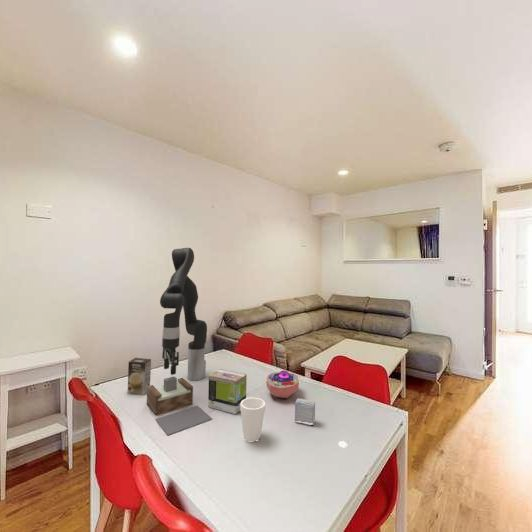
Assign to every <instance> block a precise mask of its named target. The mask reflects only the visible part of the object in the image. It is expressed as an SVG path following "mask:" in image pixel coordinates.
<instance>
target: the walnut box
mask: <svg viewBox="0 0 532 532" xmlns="http://www.w3.org/2000/svg"><path fill="white" fill-rule="evenodd" d="M177 382H179V383H181V384H182V385H183V386H184V387H185V388H187V389H190V390H191V392H189V393H186V394H182V395H179V396H175V397H171V398H168V399H164V400H161V401H158V398H159V397H162V394H161V393H160V392H159V391H158V390H157V389H156V387H155V386H154V385H151V384H150V386H147V393H146V406H147V407H148V409H149V410H150V411H151V412H152V414H153V415H154V416H156V417H157V416H160V415H162V414H166V413H169V412H172V411H176V410H179V409H182V408H186V407H189V406H192V405H193V404H194V401H193V399H194V395H193V394H194V386H193V385H192V384H191V383H190V382H189V381H187V380H186V379H185V378H183V377H181V378H177Z"/></svg>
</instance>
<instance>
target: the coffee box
mask: <svg viewBox="0 0 532 532" xmlns="http://www.w3.org/2000/svg"><path fill="white" fill-rule="evenodd" d="M151 370H152V359H151V358H144V357H143V358H142V357H141V358H140V357H133V359H131V360H130V361H128V370H127V373H128V374H127V394H131V395H139V396H140V395H141V396H145V395H147V386H151V372H152V371H151Z"/></svg>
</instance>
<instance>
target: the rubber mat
mask: <svg viewBox="0 0 532 532" xmlns="http://www.w3.org/2000/svg"><path fill="white" fill-rule="evenodd" d="M154 419H155V422H156V423H157V424H158V425H159V427H160V428H161V429H162V431H163V432H164V433H165V434H166V436H168V437H169V436H171V435H174V434H177V433H180V432H182V431H184V430H187V429H190V428H192V427H196V426H199V425H201V424H204V423H207V422H210V421H212V420H213V418H212V417H211V416H210V415H209V414H208V413H207V412H205V410H203V409H202V408H201V407H200V406H199V405H195V406H191V407H188V408H185V409H182V410H178V411H176V412H173V413H169V414H166V415H163V416H160V417H157V418H154Z"/></svg>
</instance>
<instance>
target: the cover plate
mask: <svg viewBox="0 0 532 532" xmlns="http://www.w3.org/2000/svg"><path fill="white" fill-rule="evenodd" d="M155 388H156V389H157V390H158V391H159V392H160V393H161V394H162V397H159V398H158V401H161V400H164V399H168V398H171V397H175V396H179V395H182V394H186V393H189V392H191V390H190V389H187V388H185V387H184V386H183V385H182V384H181V383H179V382H178V378H177V377H176V376H171V377H170V376H169V377H166V378H164V379H163V385H161V386H156V387H155Z"/></svg>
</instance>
